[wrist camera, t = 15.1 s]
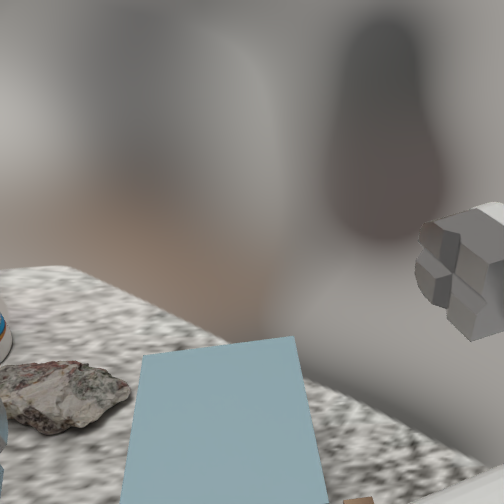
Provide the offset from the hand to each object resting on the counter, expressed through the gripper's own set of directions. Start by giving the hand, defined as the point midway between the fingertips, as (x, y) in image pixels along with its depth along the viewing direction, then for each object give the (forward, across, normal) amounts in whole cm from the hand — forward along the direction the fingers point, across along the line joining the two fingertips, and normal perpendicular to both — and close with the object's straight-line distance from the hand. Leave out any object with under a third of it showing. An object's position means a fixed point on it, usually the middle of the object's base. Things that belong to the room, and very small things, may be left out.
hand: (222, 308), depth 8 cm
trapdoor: (+11, 0, +23) cm, 26 cm away
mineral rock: (+29, +14, +32) cm, 46 cm away
